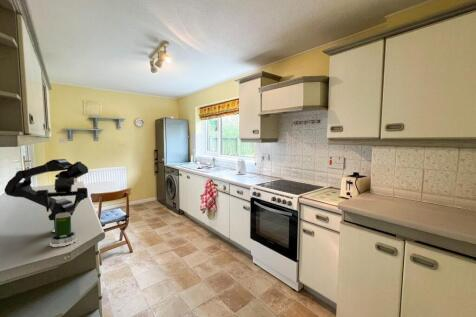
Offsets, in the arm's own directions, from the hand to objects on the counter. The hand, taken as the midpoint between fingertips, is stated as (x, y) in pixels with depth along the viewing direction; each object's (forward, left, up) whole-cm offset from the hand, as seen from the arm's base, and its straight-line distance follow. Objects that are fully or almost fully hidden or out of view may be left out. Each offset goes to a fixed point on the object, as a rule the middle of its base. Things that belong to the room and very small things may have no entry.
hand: (61, 210), depth 97 cm
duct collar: (+4, +1, -13) cm, 14 cm away
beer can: (+3, +1, -13) cm, 14 cm away
